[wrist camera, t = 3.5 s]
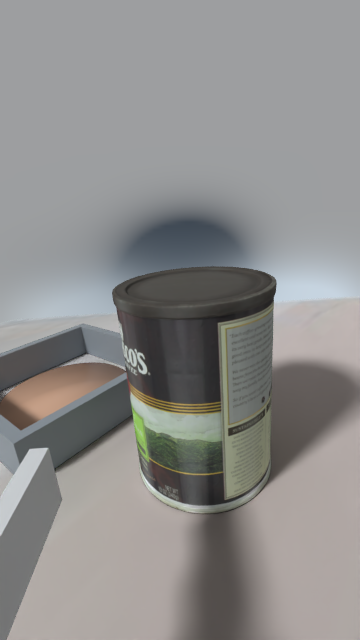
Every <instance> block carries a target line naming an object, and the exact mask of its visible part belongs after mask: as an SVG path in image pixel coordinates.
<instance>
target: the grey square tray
mask: <svg viewBox="0 0 360 640" xmlns="http://www.w3.org/2000/svg"><path fill="white" fill-rule="evenodd" d="M84 353H89V354H91V355H94V356H97V357H100V358H102V359H105V360H108V361H111V362H113V363H116V364H119V365H122V366H124V367H125V360H124V354H123V347H122V341H121V335H120V333H116V332H113V331H109V330H105V329H101V328H98V327H94V326H90V325H87V324H80V325H78V326H75V327H72V328H69V329H67V330H64V331H61V332H58V333H56V334H53V335H50V336H47V337H45V338H42V339H39V340H36V341H34V342H31V343H28V344H25V345H23V346H20V347H17V348H14V349H12V350H9V351H6V352H4V353H1V354H0V391H1V390H3V389H5V388H8V387H10V386H12V385H14V384H17V383H19V382H21V381H23V380H26V379H28V378H30V377H32V376H35V375H37V374H39V373H41V372H44V371H46V370H48V369H50V368H53V367H55V366H57V365H59V364H62V363H64V362H66V361H68V360H71V359H73V358H75V357H77V356H80V355H82V354H84ZM131 415H133V412H132V406H131V399H130V393H129V387H128V380H127V373H124V374H122V375H120V376H118V377H117V378H115V379H113V380H111V381H109V382H108V383H106V384H104V385H102V386H100V387H99V388H97V389H95V390H93V391H91V392H90V393H88V394H86V395H84V396H82V397H81V398H79V399H77V400H75V401H73V402H72V403H70V404H68V405H66V406H64V407H63V408H61V409H59V410H57V411H55V412H54V413H52V414H50V415H48V416H46V417H45V418H43V419H41V420H39V421H37V422H36V423H34V424H32V425H30V426H28V427H27V428H25V429H23V430H19V429H18V428H17V427H16V426H14V425H13V424H12V423H11V422H9V421H8V420H7V419H5V418H4V417H3V416H2V415H0V461H1V462H2V463H3V464H4V465H5V466H6V467H7V468H8V469H9V470H10V471H11V472H12V473H13V474H15V472H16V471H17V469H18V467H19V466H20V464H21V462H22V461H23V459H24V458H25V456H26V454H27V453H28V451H29V449H36V448H49V451H50V455H51V459H52V463H53V466H54V469H55V468H56V467H58V466H59V465H61V464H62V463H64V462H65V461H66V460H68V459H69V458H71V457H72V456H74V455H75V454H77V453H78V452H79V451H81V450H82V449H84V448H85V447H87V446H88V445H90V444H91V443H92V442H94V441H95V440H97V439H98V438H100V437H101V436H102V435H104V434H105V433H107V432H108V431H110V430H111V429H113V428H114V427H115V426H117V425H118V424H120V423H121V422H123V421H124V420H125V419H127V418H128V417H130V416H131Z"/></svg>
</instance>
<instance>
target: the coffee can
mask: <svg viewBox="0 0 360 640" xmlns="http://www.w3.org/2000/svg"><path fill="white" fill-rule="evenodd" d="M275 292H276V279H275V278H274V277H273V276H271V275H269V274H267V273H265V272H262V271H258V270H253V269H247V268H238V267H237V268H236V267H192V268H181V269H173V270H166V271H160V272H155V273H150V274H146V275H142V276H138V277H135V278H132V279H130V280H127V281H125V282H123V283H121V284H119V285H118V286H116V287H115V288H114V289H113V292H112V295H113V301H114V304H115V306H116V308H117V314H118V320H119V328H120V335H121V341H122V347H123V354H124V360H125V367H126V373H127V380H128V387H129V393H130V399H131V406H132V412H133V420H134V427H135V433H136V440H137V447H138V453H139V460H140V461H139V469H140V474H141V477H142V479H143V481H144V483H145V485H146V487H147V488H148V489H149V491H150V492H151V493H152V494H153V495H154V496H155V497H156V498H158V499H159V500H160V501H162V502H163V503H165V504H167V505H168V506H171V507H173V508H176V509H179V510H182V511H186V512H190V513H198V514H212V513H219V512H224V511H228V510H232V509H235V508H237V507H239V506H241V505H243V504H245V503H246V502H248V501H250V500H251V499H252V498H254V497H255V496H256V495H257V494H258V493H259V492H260V491H261V489H262V488H263V487H264V485H265V484H266V482H267V480H268V478H269V475H270V470H271V456H270V438H271V394H272V349H273V307H274V295H275Z"/></svg>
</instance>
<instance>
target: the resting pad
mask: <svg viewBox="0 0 360 640" xmlns="http://www.w3.org/2000/svg"><path fill="white" fill-rule="evenodd" d="M124 373H126V372H125V371H124V370H122V369H121V368H119V367H117V366H114V365H110V364H105V363H79V364H72V365H67V366H63V367H59V368H55V369H52V370H49V371H46V372H43V373H41V374H38V375H36V376H34V377H32V378H30V379H28V380H26V381H24V382H23V383H21V384H19V385H18V386H16V387H15V388H14V389H12V390H11V391H10V392H9V393H8V394H7V395H6V396H5V397H4V398H3V399H2V401H1V402H0V415H2V416H3V417H4V418H5V419H7V420H8V421H9V422H11V423H12V424H13V425H14V426H16V427H17V428H18V429H19V430H23V429H25V428H27V427H28V426H30V425H32V424H34V423H36V422H37V421H39V420H41V419H43V418H45V417H46V416H48V415H50V414H52V413H54V412H55V411H57V410H59V409H61V408H63V407H64V406H66V405H68V404H70V403H72V402H73V401H75V400H77V399H79V398H81V397H82V396H84V395H86V394H88V393H90V392H91V391H93V390H95V389H97V388H99V387H100V386H102V385H104V384H106V383H108V382H109V381H111V380H113V379H115V378H117V377H118V376H120V375H122V374H124Z"/></svg>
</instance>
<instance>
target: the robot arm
mask: <svg viewBox="0 0 360 640" xmlns="http://www.w3.org/2000/svg"><path fill="white" fill-rule="evenodd" d="M61 501H62V497H61V493H60V489H59V486H58V482H57V478H56V474H55V470H54V466H53V463H52V459H51V455H50V451H49V448H36V449H29V451H28V453H27V454H26V456H25V458H24V459H23V461H22V462H21V464H20V466H19V467H18V469H17V471H16V472H15V474H14V475H13V477H12V479H11V480H10V482H9V483H8V485H7V487H6V488H5V490H4V492H3V493H2V495H1V496H0V640H7V637H8V635H9V632H10V629H11V627H12V624H13V622H14V619H15V617H16V614H17V612H18V609H19V607H20V604H21V602H22V599H23V597H24V594H25V592H26V589H27V587H28V584H29V582H30V579H31V577H32V574H33V572H34V569H35V567H36V564H37V561H38V559H39V556H40V554H41V551H42V549H43V546H44V544H45V541H46V539H47V536H48V534H49V531H50V529H51V526H52V524H53V521H54V519H55V516H56V514H57V511H58V509H59V506H60V504H61Z"/></svg>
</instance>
